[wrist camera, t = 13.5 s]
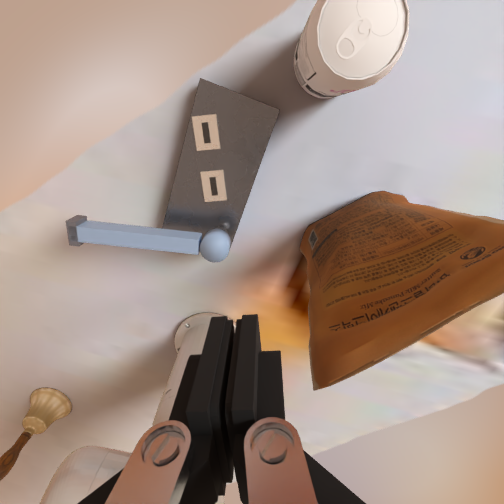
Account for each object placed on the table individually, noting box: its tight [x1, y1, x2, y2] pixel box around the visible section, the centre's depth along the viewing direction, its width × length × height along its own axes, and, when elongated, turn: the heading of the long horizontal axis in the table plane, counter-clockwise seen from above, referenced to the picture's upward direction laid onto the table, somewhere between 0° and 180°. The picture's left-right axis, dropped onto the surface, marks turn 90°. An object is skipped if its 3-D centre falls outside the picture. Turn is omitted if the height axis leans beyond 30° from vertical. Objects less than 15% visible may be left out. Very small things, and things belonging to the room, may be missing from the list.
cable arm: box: [66, 215, 231, 262], centre depth 39 cm, size 20×4×2 cm, turn 84°
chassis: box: [162, 78, 280, 250], centre depth 41 cm, size 20×10×6 cm, turn 160°
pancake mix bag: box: [299, 191, 504, 390], centre depth 33 cm, size 7×19×28 cm, turn 121°
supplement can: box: [294, 0, 409, 98], centre depth 31 cm, size 8×8×15 cm
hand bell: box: [0, 388, 72, 481], centre depth 56 cm, size 8×8×16 cm
